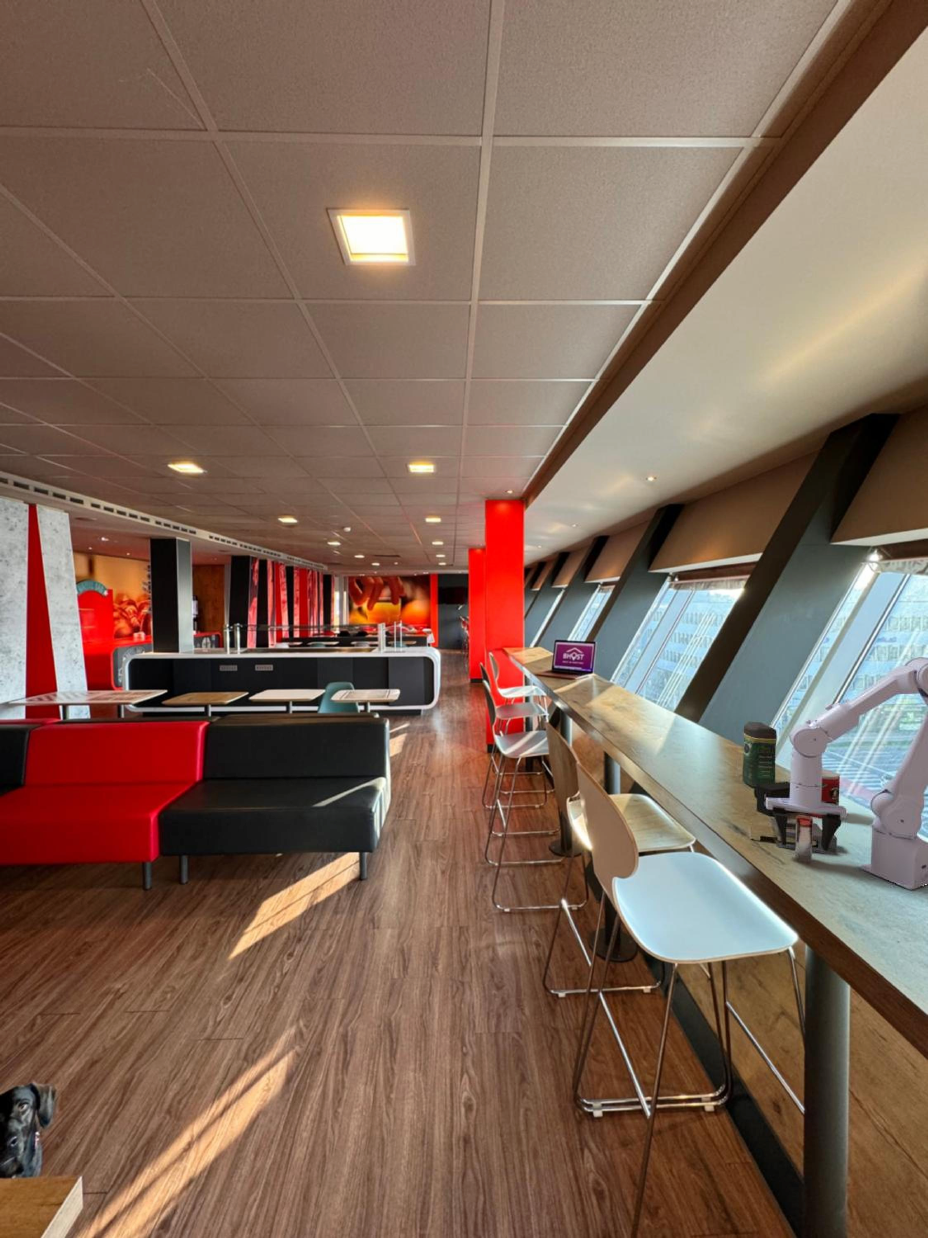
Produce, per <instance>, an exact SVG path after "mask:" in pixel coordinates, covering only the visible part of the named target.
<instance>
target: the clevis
mask: <svg viewBox="0 0 928 1238" xmlns="http://www.w3.org/2000/svg"><path fill="white" fill-rule="evenodd" d="M769 822H770V824H771V826H769V825H768V826H767V825H761V824H754V823H752V824H751V823H748V825H747V826H748V827H747V830H748V831H747V834H749V835H748V837H749V839H750V840H751V839H754V840H753V841H760V842H761V836H763V837H771V838H772V839H773V842H774V844H775V846H776V848H784V849H791V850H795V845H796V820H791V819H790V820H789V819H787V827H786V841H787V842H786V845H782V843H781V841H780V833H779V829H778V826H777V822H776V820H775V817H774V818H773V817H770V821H769ZM821 839H822V829H821V828H820V826H819V824H818V823H817V822H816V823H815V822H813V834H812V853H813V852H814V853H820V854H827V851H824V850H823V848H822V847H821ZM837 840H838V838H837V836H836V835H835V834H834V835H833V837H832V839H831V842H830V844H829V848H828V851H830V852H837V848H838V847H837V845H838V844H837V843H838V841H837Z"/></svg>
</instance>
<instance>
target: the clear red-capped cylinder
mask: <svg viewBox="0 0 928 1238" xmlns="http://www.w3.org/2000/svg"><path fill="white" fill-rule="evenodd" d="M795 819H796V820H795V821H796V845H795V849H794V853H795V854H794V855H795V856H794V857H795V860H796V861H798V862H800V863H803V864H804V863H805V864H810V863H812V862H813V860H812V859H813V852H812V834H813V823H814V819H813V817H812V816H809V815H802V814H798V815H796V818H795Z"/></svg>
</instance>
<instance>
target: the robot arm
mask: <svg viewBox="0 0 928 1238" xmlns="http://www.w3.org/2000/svg"><path fill="white" fill-rule="evenodd" d="M904 663H905V664H901V665H899V666H896V667H895V668H894V669H892V670H891V671H889V672H888V673H886V674H885V675H884V676H883V677H881V678H879V680H877V681H876V682H875V683H873V684H872V685H870V686H869V687H867V688H866V689H865V690H863V691H862V692H861V693H858V694H857V696H855V697H854V698H852V699H851V700H850V701H847V702H846V703H843V702H835V703H833V704H831V703H827V704H826V705H825V706H823V708H824V710H823V711H821V712H819V713H818V714H816V715H815V716H814V717H812V718H811V719H810V718H806V719H805V720H804V723H805V724H798V725H796V726H794V727H793V728H792V729H791V733H790V734H789V735H788V739H789V742H790V743H791V745H792V747H791V758H790V775H789V776H790V778H789V779H790V780H789V783H790V798H766V807H767V809H771V810H772V812H773V815H774V816H773V817H774V818H775V820H776V822H777V826H778V829H779V833H780V841H781V843H782V845H786V842H787V841H786V827H787V820H789V819H788V816H787V815H788V814H786V812H785V810H788V811H796V812H798V813H805V814H807V813H813V814H821V815H822V819H821V827H822V829H821V830H822V839H821V847H822V848H823V850H824V851H826V852H828V851H829V850H828V848H829V844H830V842H831V839H832V837H833V835H835V833H836V832H837V830H838V829H839V828H840V827H841V825H842V820H841V819H847V808H845V806H844V805H839V806H838V805H832V804H827V803H822V802H821V793H822V769H823V761H822V760H823V754H824V753H825V752H826V750H827V747H828V744H831V743H833V742H835V741H837V739H840V738H841V737H842V736H844V735H846V734H847V733H848V732H850V731H852V730H853V729H855V728H856V727H858V726H859V725H860V724H859V723H860V718H861V716H863V715H865V714H866V713H868V712H870V711H871V710H873V709H875V708H877V707H878V706H880V705H882V704H884V703H885V702H887V701H889V700H890V699H893V698H894V697H896V696H897V695H913V694H914V695H917V694H919V695H920V697H921V698H922V700H923V702H924V704H925V705H926V706H927V707H928V657H923V656H918V657H917V656H916V657H914V658H911V659H909V660H907V661H906V662H904ZM927 788H928V711H926V714H925V716H924V718H923V720H922V721H921V724H920V726H919V728H918V730H917V732H916V734H915V736H914V738H913V739H912V742H911V743H910V746H909V747H908V749H907V751H906V753H905V755H904V757H903V759H902V761H901V762H900V765H899V767H898V769H897V770H896V772H895V775H894V776H893V778H891V779H890V780H889V781H887V782H886V783H885V784H884V785H883V787H882V789H881V790H880V791H879V792H876V793H875V794H874V795H873V796H872V797H871V799H870V802H869V807H870V810H871V812H872V813H873V814H874V816H875V818H874V820H873V822H872V823H871V843H870V844H871V845H870V848H871V850H870V863H867V864H863V865H860V869H861V870H863V871H866V872H868V873H870V874H872V875H875V876H877V877H879V878H881V877H882V878H881V879H884V880H887V881H888V880H889V882H891V883H893V882H894V883H893V884H895V883H896V885H898V886H900V885H901V886H900V887H902V886H903V888H905V889H907V890H914V889H915V890H916V889H918V887H919V888H921V887H920V886H922V887H924V886H923V885H925V884H928V842H927V841H925V840H924V839H922V838H921V837H919V835H918V832H919V831H921V828H922V826H923V825H922V823H923V822H922V813H923V811H924V809H925V793H926V790H927Z"/></svg>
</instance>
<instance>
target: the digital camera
mask: <svg viewBox="0 0 928 1238" xmlns="http://www.w3.org/2000/svg"><path fill="white" fill-rule="evenodd" d="M753 795H754V796H753V797H754V798H755V799H756V812H758V813H761V814H763V815H766V816H767V817H769V818H772V817H774V815H773V812H772V810H771V809H767V807H766V798H790V781H781V782H775V783H771V784H763V783H760V784H758V785H757V786H756V787H754V790H753ZM785 812H786V815H790V814H789V813H791V814H797V813H799V812H796V811H788V810H785Z"/></svg>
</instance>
